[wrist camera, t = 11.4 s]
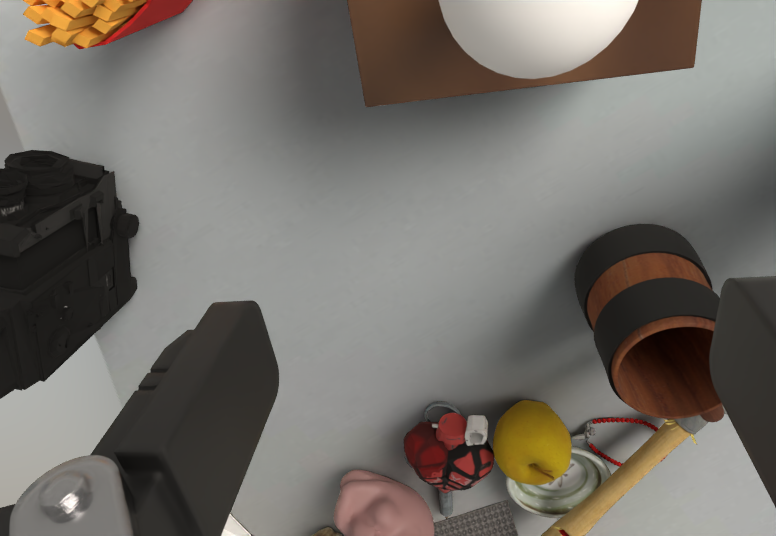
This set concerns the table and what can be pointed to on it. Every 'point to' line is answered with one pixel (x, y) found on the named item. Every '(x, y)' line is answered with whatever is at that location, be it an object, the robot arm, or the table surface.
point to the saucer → (562, 486)
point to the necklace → (592, 431)
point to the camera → (57, 261)
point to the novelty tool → (626, 476)
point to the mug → (652, 320)
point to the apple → (532, 443)
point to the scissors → (444, 498)
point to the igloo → (234, 528)
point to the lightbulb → (535, 32)
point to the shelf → (466, 76)
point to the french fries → (95, 19)
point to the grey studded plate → (480, 523)
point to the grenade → (450, 451)
